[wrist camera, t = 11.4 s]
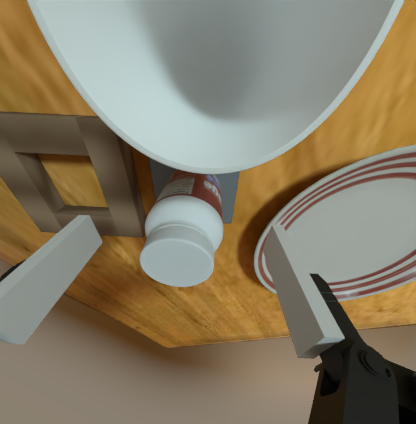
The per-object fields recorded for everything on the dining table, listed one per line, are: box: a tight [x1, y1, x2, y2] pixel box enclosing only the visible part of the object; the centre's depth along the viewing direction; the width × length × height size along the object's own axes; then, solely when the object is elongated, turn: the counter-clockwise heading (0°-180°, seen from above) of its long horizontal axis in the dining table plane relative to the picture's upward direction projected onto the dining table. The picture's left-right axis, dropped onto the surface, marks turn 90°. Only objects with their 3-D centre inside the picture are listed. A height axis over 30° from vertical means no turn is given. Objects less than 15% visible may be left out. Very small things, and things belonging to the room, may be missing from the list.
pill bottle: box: [140, 169, 223, 287], centre depth 14 cm, size 6×6×11 cm
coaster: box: [149, 157, 240, 223], centre depth 19 cm, size 10×10×1 cm
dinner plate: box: [254, 145, 416, 301], centre depth 22 cm, size 28×27×3 cm
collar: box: [0, 111, 146, 237], centre depth 19 cm, size 14×14×2 cm
